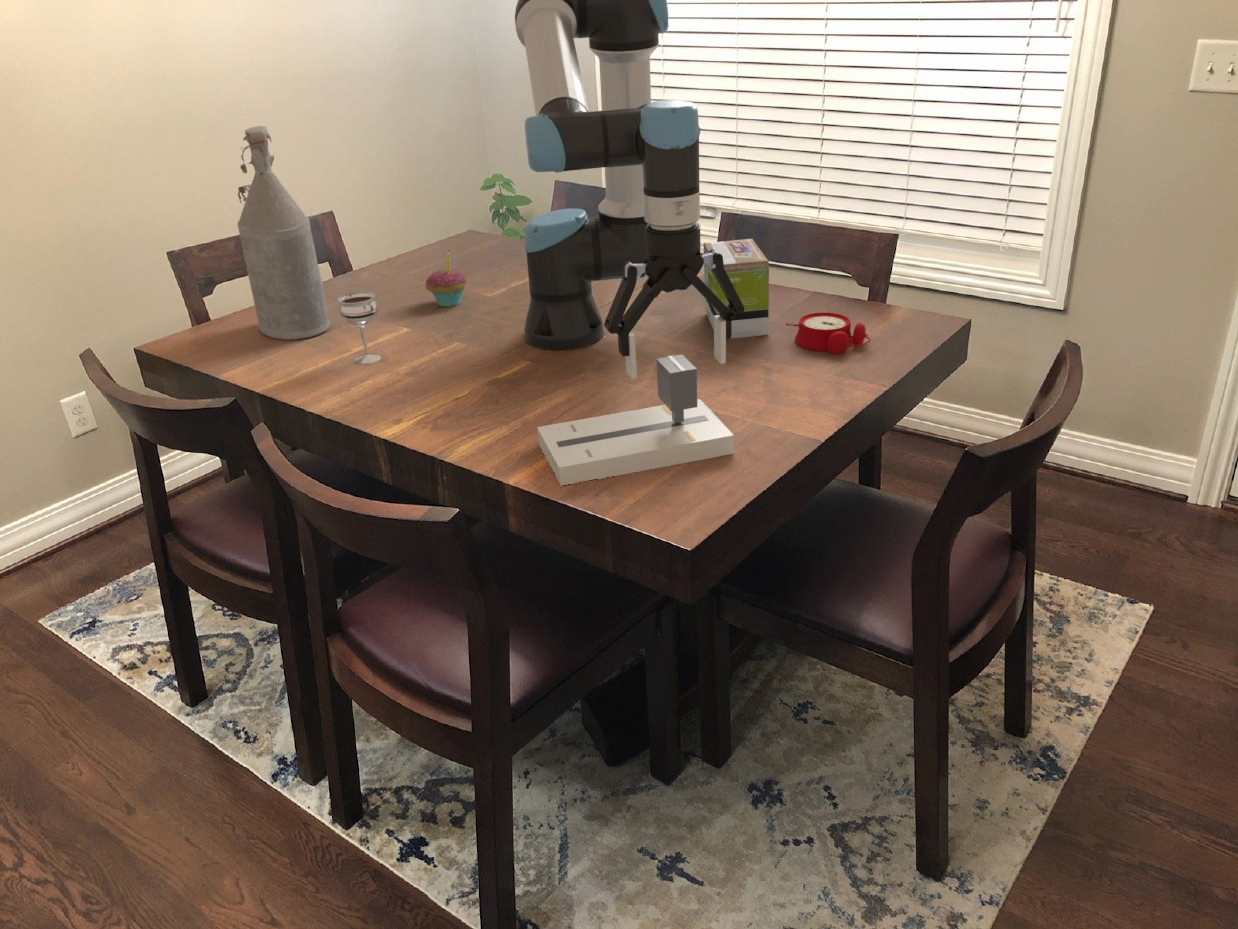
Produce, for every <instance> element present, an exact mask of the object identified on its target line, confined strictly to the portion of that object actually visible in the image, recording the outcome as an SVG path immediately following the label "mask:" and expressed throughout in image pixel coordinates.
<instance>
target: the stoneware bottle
mask: <svg viewBox="0 0 1238 929" xmlns="http://www.w3.org/2000/svg"><path fill="white" fill-rule="evenodd" d="M244 134H245V136H244V137H243V142H244V141H246V142H247V143H248V145H246V146H245V147H244V148H243V147H240V149H241V150H242V151H241V152H242V153H241V155H240V158H241V161H243V163H242V164H239V165H240V169H241V171H242V173H243V174H247V173H248V168H247V166H246V165H247V163H244V162H245V159H244V153H245V151H246V150H247V149H249V150H250V154H251V157H250V162H248V165H252V166H253V168H254V176H253V179H252V181H251V184H246V185H243V186H239V187H238V188H237V190H238V192H237V196H238V200H239V202H240V204H241V205H243V208H242V210H241V214H240V217H239V220H238V221H237V224H236V225H237V228H238V233H239V237H240V238H239V239H240V241H241V247H242V252H243V257H244V262H245V266H246V270H247V271H246V272H247V276H248V280H249V285H250V290H251V295H252V299H253V304H254V307H255V313H256V317H257V322H258V328H259V331H260V332H261V333H262V334H263V335H265V336H267V337H268V338H272V339H276V340H285V341H291V340H292V341H293V340H301V339H307V338H313V337H315V336H318V335H321V334H322V333H324V332H327V331H329V329H330V327H331V321H330V317H329V311H328V307H327V301H326V296H325V294H324V287H323V283H322V282H323V281H322V277H321V273H320V268H319V262H318V258H317V254H316V249H315V244H314V239H313V234H312V229H311V222H310V218H309V217H308V216H307V215H306V214H305V213H304V211H303V210H302V209H301V207H300V206H299V205H298V204H297V202H296V201H295V200H294V198H293V197H292V196H291V194H290V193H289V191H287V189H286V188H285V186H284V185H283V184H282V183H281V181H280V180H279V179H278V177H277V176H276V175H275V173H274V172H273V171H272V166H273V162H274V160H275V159H274V158H275V154H273V155H271V153H270V150H269V142H272V137H271V135H270V133H269V132H268V127H267V126H266V125H265V126H264V125H258V126H252V127H249V128H247V129H245V130H244ZM268 139H269V140H268ZM246 192H247V195H245V194H246ZM242 197H243V199H242ZM241 199H242V200H241ZM242 201H243V202H244V204H243V202H242Z"/></svg>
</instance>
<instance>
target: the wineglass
mask: <svg viewBox="0 0 1238 929" xmlns="http://www.w3.org/2000/svg"><path fill="white" fill-rule="evenodd" d="M375 294H376V293H373V292H371V291H356V292H355V291H353V292H349V293H345V294H342V295H341V296H339V297H338V298H337V302H338V303H339V304H340V305H339V312H340V315H341V317H342V319H343V320H344V321H346V322H347V323H349V324H351V325H353V326H357V328H359V330H360V335H361V338H362V343H363V348H364V352H365V354H364V355H360V356H357V357H356V358H354V360H353V362H354V363H356V364H358V365H369V364H374V363H377V362H378V361H380V360H381V359H382V355H379V354H377V353H375V354H374V353H369V352H368V344H367V338H366V333H365V332H366V331H365V328H366V326H367V325H368V323H370V322H372V321H374V318H375V317H376V315H377V313H378V304H377V302H376V300H375V297H376V295H375Z"/></svg>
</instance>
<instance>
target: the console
mask: <svg viewBox="0 0 1238 929" xmlns="http://www.w3.org/2000/svg"><path fill="white" fill-rule="evenodd" d="M536 430H537V431H536V432H537V440H538V447H539V448H540V450H541V449H542V450H541V452H542V454H543V453H544V454H543V456H544V455H545V456H544V458H545V457H546V458H545V460H546V462H547V463H548V462H549V463H548V465H549V466H551V467H550V469H551V468H552V469H551V471H552V470H553V471H552V473H553V472H554V473H555V475H556V476H555V475H554V476H555V478H556V477H557V478H556V480H557V479H558V480H557V482H558V481H559V482H558V484H559V483H560V484H559V486H560V485H565V484H570V483H575V482H581V481H585V480H592V479H598V480H603V479H607V478H606V477H609V478H613V477H612V476H614V477H618V476H619V477H620V476H623V475H630V474H635V473H640V472H644V471H649V470H650V469H651V470H654V469H655V470H656V469H660V468H665V467H666V468H667V467H670V466H677V465H681V464H686V463H692V462H698V461H703V460H708V459H712V458H713V459H714V458H718V457H723V456H728V455H729V456H730V455H734V454H735V435H734V434H733V432H731V430H730V429H729V428H728V427H727V426H726V425H725V424H724V423H723V422H722V421H721V420H720V418H718V417H717V415H716V414H715V413H714V412H713V411H712V410H711V409H710V407H708V406H707V405H706V404H705V403H704V402H703V400H701V399H700V398H697V407H695V408H690V409H684V422H679V423H674V421H673V420H672V412H671V411H670V410H669V408H668V407H667V406H666V405H665V404H661V405H656V406H651V407H650V406H649V407H645V408H640V409H632V410H627V411H622V412H616V413H610V414H603V415H599V416H593V417H588V418H581V419H576V420H570V421H566V422H565V421H564V422H559V423H554V424H547V425H541V426H537V427H536ZM634 472H635V473H634ZM554 473H553V474H554ZM602 478H603V479H602Z"/></svg>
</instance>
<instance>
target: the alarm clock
mask: <svg viewBox="0 0 1238 929" xmlns="http://www.w3.org/2000/svg"><path fill="white" fill-rule="evenodd" d="M851 323H852V322H851V320H850V318H849V317H847V316H846V315H843V314H839V313H835V312H813V313H809V314H806V315H804V316H801V318H800V319H799V321H798V324H793V323H786V324H785V325H786V326H793V327H798V331H797V333H796V335H795V337H794V342H795V344H796V345H798V346H799V347H801V348H804V349H807V350H811V351H819V352H829V353H830V354H832V355H841V354H844V353H845V352H846V351H847V350H848V348H849V347H861V346H865V345H867V344H869V343H870V342H871V338H870V337H868V333H866V331H867V330H866V326H865V324H864V323H862V322H857V323H856V324H855V325H854V326H855V327H854V329H853V332H852V333H853V334H852V333H851V325H852V324H851ZM865 339H867V340H868V341H866V342H864V341H865Z"/></svg>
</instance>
